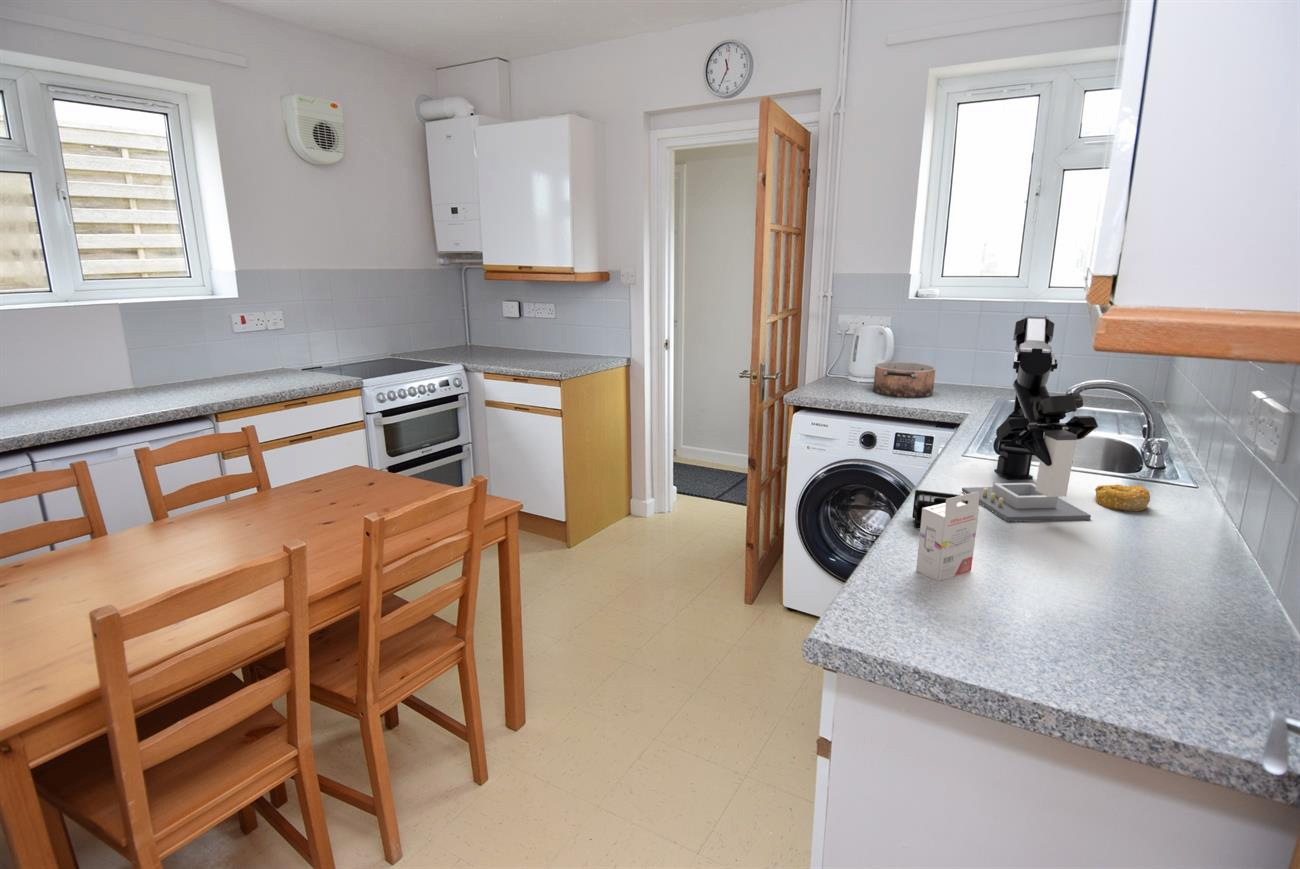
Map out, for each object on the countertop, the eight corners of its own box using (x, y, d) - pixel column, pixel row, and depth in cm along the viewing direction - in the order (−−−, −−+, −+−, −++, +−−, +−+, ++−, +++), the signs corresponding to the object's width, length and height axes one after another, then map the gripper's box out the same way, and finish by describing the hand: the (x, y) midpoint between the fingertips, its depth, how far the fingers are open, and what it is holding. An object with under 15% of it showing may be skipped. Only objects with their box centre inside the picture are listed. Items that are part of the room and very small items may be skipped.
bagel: (1125, 495, 153) (1129, 476, 152) (1160, 514, 143) (1164, 493, 141) (1081, 496, 153) (1085, 476, 152) (1113, 514, 143) (1117, 493, 142)
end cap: (964, 522, 137) (968, 491, 136) (965, 535, 131) (970, 503, 129) (912, 515, 141) (915, 485, 139) (911, 528, 135) (914, 496, 133)
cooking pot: (926, 402, 250) (929, 374, 247) (865, 396, 261) (867, 369, 258) (937, 389, 275) (940, 363, 272) (881, 384, 286) (883, 359, 283)
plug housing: (1053, 489, 140) (1063, 429, 137) (1066, 496, 136) (1077, 435, 133) (1035, 490, 140) (1045, 430, 136) (1047, 497, 136) (1057, 435, 132)
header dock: (1036, 490, 156) (1038, 476, 155) (1090, 519, 139) (1093, 503, 138) (961, 491, 155) (963, 477, 154) (1006, 521, 138) (1008, 505, 137)
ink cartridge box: (947, 560, 120) (957, 482, 116) (971, 571, 116) (983, 491, 112) (913, 570, 116) (923, 490, 112) (937, 582, 112) (947, 499, 108)
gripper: (1012, 379, 135) (1037, 447, 127) (1100, 377, 136) (1130, 445, 129) (985, 407, 145) (1007, 472, 137) (1067, 406, 146) (1094, 470, 138)
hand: (1060, 465), depth 135 cm, fingers closed on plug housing, 4 cm apart
